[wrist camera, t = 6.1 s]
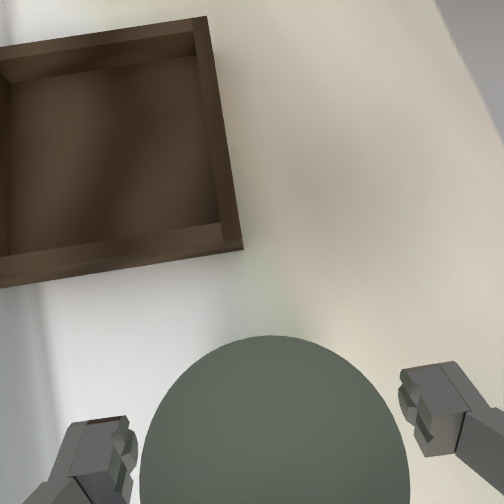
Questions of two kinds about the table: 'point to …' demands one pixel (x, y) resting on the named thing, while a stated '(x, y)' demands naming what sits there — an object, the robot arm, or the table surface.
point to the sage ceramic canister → (273, 431)
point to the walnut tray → (112, 153)
